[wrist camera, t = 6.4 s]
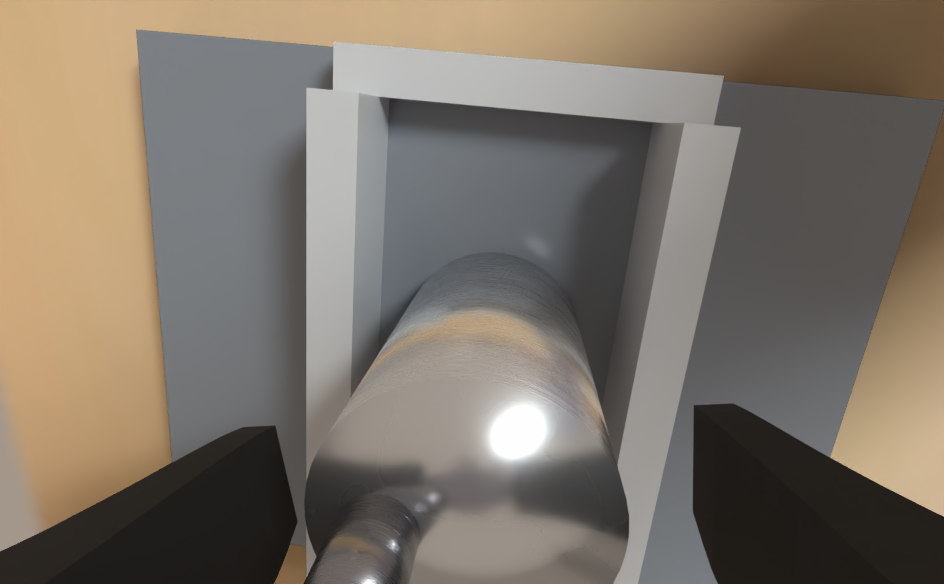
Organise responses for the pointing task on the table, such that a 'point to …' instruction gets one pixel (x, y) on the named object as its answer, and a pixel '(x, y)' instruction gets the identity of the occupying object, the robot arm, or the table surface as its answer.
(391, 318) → the grey framed base plate
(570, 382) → the spout can
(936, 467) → the table surface
